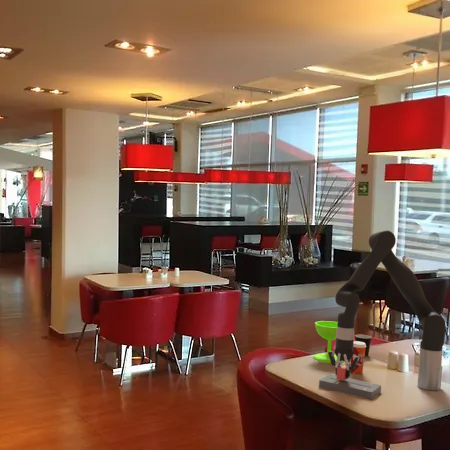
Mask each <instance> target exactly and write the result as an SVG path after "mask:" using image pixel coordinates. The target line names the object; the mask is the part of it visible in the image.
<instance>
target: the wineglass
mask: <svg viewBox="0 0 450 450" xmlns="http://www.w3.org/2000/svg"><path fill="white" fill-rule="evenodd" d="M337 323H338V321H331V320H330V321H329V320H320V321H319V320H318V321H315V322H314V326H315V330H316V333H317V334H318V336H320V337H321V338H322V339H324V340H327V349H326V350H327V351H326V353H324V352H321V353H315V354H314V355H313V356H312V359H313V360H314V359H315V360H314V361H316V360H317V361H316V362H320V363H323V364H331V361H330V358H329V354H328V352H330V351H332V345H333V344H332V342H333V341H336V331H337ZM334 357H335V361H336V360H337V356H336V355H334ZM343 363H345V362H344V361H341V364H343Z"/></svg>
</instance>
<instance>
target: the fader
mask: <svg viewBox="0 0 450 450" xmlns="http://www.w3.org/2000/svg"><path fill="white" fill-rule="evenodd" d="M346 370H347V369H346V365H342V364H340V366H339V367H337V378H336V379H338V380H343V381H345V380H346Z"/></svg>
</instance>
